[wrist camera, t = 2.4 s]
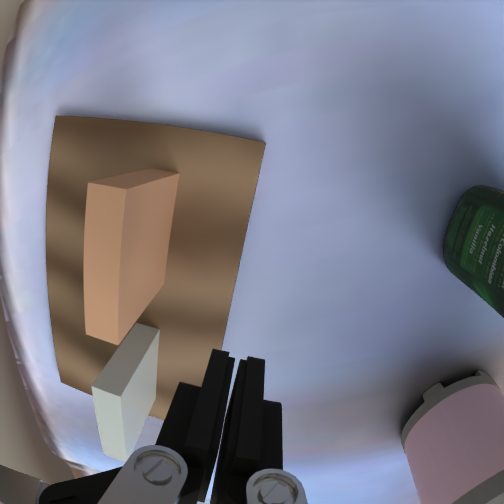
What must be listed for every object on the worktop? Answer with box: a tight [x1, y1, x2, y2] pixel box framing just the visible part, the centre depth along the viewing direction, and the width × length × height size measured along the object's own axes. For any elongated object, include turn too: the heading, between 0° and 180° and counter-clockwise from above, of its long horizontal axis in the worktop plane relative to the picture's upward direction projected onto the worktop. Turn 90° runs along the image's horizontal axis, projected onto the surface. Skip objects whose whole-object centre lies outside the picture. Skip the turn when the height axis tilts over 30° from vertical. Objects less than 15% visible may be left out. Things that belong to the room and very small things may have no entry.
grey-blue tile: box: [91, 323, 160, 462], centre depth 21 cm, size 8×2×8 cm, turn 168°
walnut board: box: [46, 116, 266, 420], centre depth 24 cm, size 26×16×1 cm, turn 168°
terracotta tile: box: [84, 168, 180, 345], centre depth 18 cm, size 8×2×8 cm, turn 168°
